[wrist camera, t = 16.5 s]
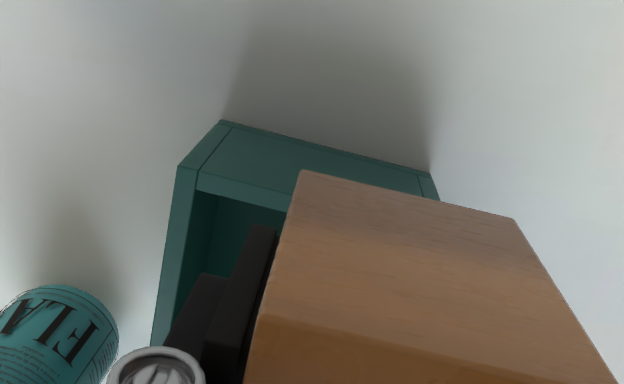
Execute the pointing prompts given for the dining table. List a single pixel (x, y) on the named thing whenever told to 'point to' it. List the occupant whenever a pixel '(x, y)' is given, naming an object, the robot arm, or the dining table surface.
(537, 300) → the block
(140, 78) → the dining table surface
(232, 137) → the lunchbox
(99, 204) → the dining table surface
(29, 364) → the beverage bottle
